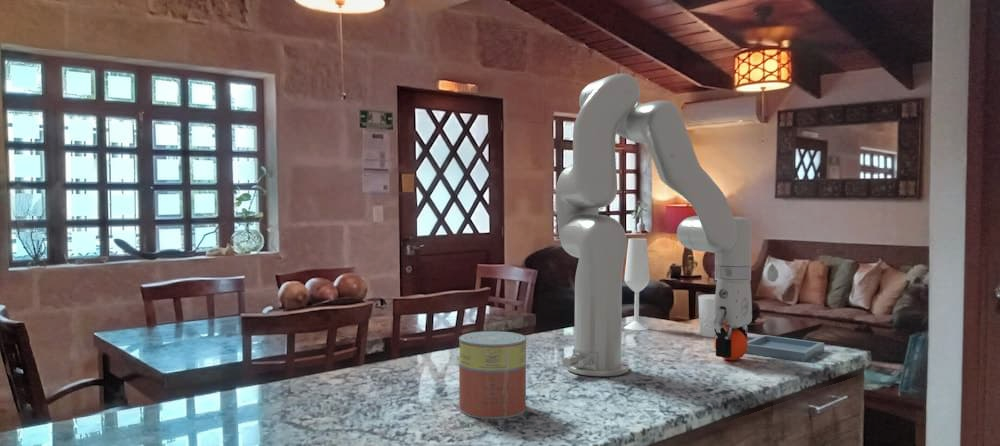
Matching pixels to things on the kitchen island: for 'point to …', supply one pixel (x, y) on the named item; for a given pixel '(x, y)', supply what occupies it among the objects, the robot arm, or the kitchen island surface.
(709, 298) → the white cup
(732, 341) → the clementine
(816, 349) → the dish
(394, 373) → the kitchen island surface
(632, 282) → the champagne flute
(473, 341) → the canned food
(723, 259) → the robot arm
